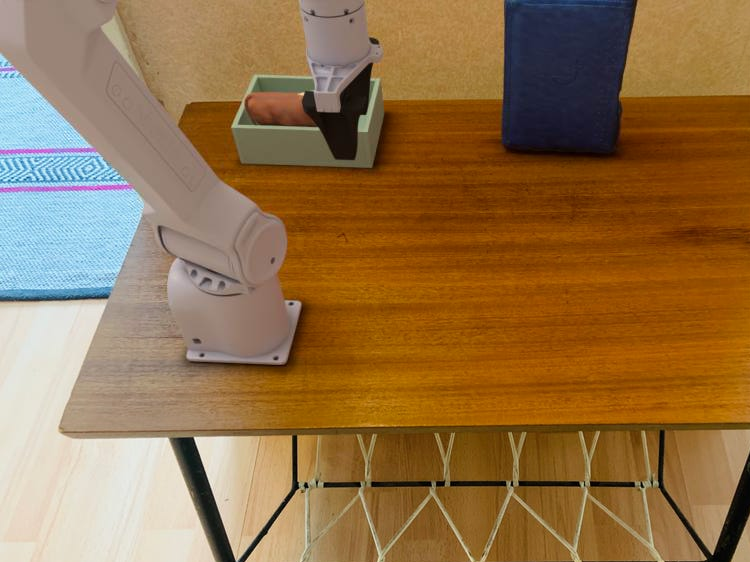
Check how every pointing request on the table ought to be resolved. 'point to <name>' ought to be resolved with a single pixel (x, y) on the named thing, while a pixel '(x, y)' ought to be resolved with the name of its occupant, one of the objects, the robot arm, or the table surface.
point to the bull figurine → (277, 109)
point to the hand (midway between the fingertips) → (351, 134)
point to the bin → (302, 130)
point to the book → (564, 73)
